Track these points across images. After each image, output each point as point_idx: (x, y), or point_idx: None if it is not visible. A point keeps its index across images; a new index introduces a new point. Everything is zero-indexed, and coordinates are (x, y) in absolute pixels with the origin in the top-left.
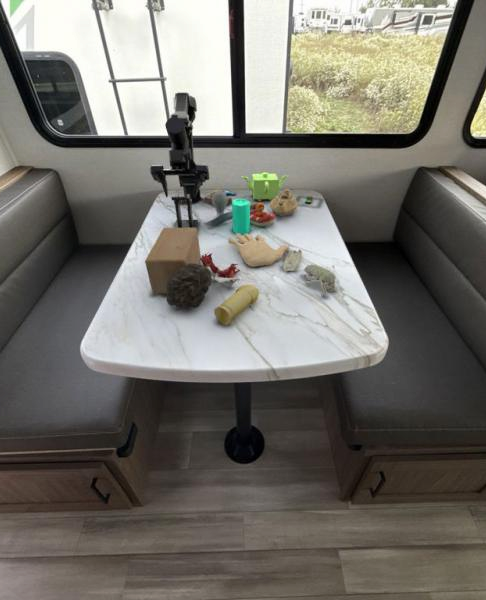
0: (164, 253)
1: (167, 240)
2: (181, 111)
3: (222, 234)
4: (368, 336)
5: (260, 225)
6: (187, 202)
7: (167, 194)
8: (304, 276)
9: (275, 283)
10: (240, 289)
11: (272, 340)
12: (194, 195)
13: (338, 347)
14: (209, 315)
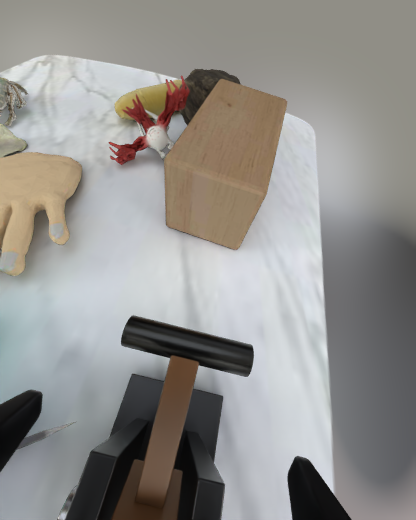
0: (255, 100)
1: (251, 132)
2: None
3: (39, 344)
4: (46, 60)
5: None
6: (118, 445)
7: (298, 512)
8: (14, 113)
9: (71, 130)
10: (143, 94)
11: (140, 84)
12: (37, 392)
13: (86, 64)
14: None
